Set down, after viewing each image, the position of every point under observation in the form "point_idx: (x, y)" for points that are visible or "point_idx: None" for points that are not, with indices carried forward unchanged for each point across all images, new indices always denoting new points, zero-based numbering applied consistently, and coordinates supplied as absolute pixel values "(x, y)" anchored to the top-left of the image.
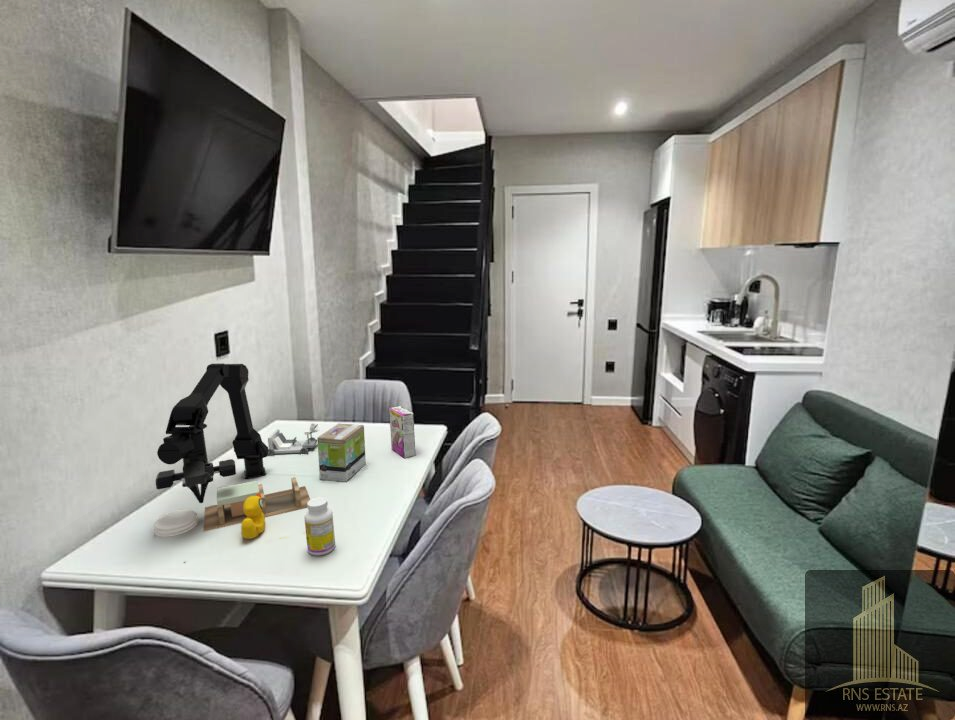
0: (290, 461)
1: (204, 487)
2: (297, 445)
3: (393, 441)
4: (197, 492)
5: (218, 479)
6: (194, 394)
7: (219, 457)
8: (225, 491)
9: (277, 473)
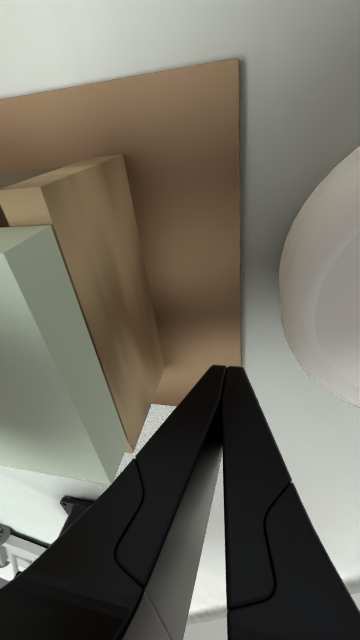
0: (23, 517)
1: (94, 547)
2: (24, 559)
3: None
4: (237, 493)
5: (206, 543)
6: None
7: (214, 606)
8: (18, 415)
9: (31, 488)
